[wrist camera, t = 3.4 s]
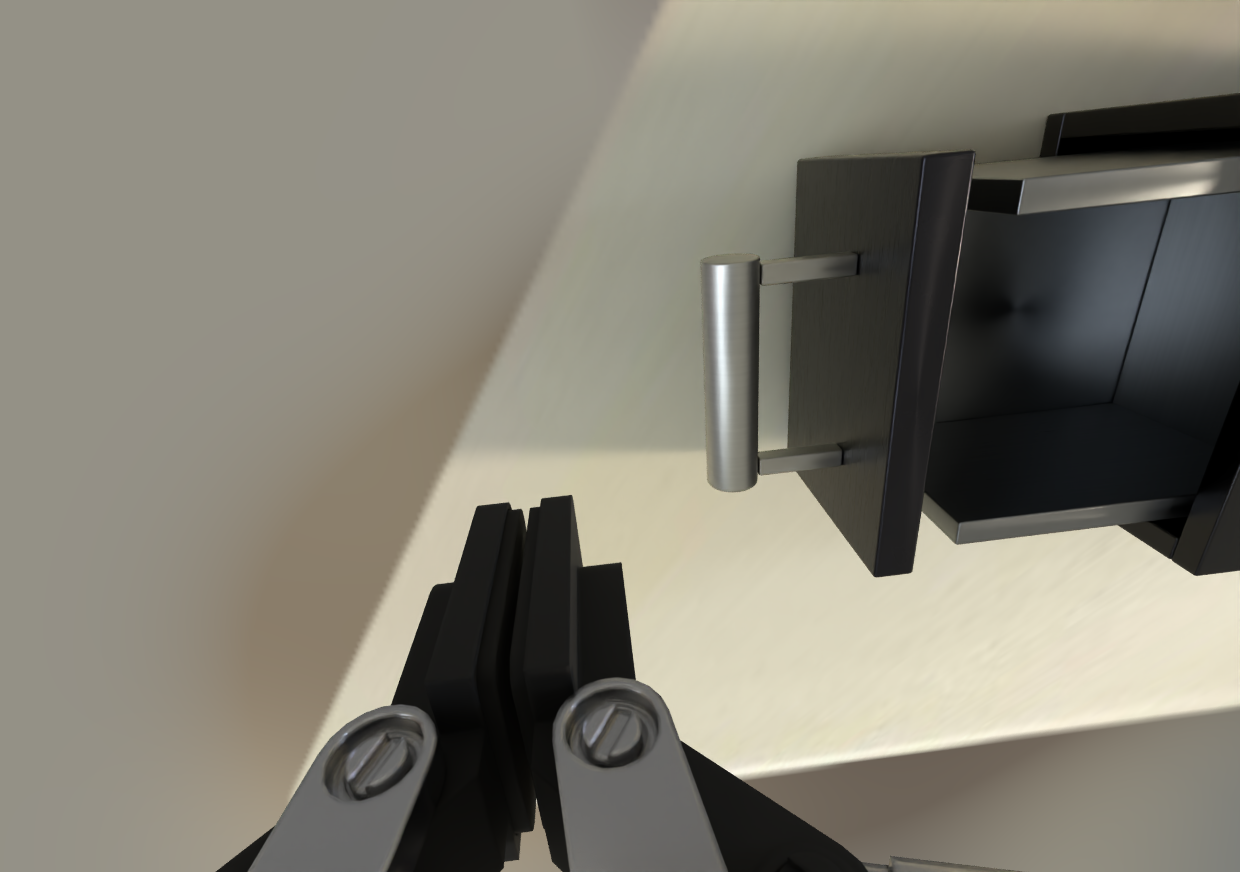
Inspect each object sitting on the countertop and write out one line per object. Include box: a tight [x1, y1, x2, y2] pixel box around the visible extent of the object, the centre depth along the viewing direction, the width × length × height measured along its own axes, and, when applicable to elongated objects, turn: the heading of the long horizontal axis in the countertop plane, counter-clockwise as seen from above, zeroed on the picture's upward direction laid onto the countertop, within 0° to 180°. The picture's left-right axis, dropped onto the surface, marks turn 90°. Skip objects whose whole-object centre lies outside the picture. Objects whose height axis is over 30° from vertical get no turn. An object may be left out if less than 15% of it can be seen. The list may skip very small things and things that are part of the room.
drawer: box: [701, 141, 1240, 577], centre depth 19 cm, size 18×11×8 cm, turn 95°
